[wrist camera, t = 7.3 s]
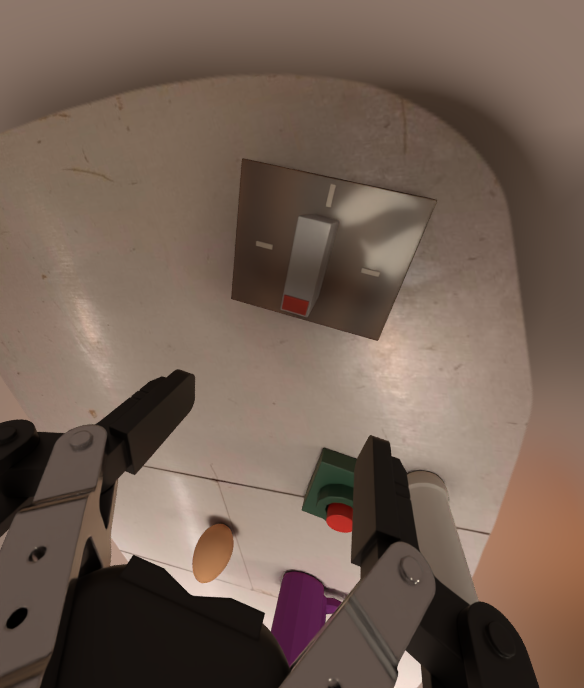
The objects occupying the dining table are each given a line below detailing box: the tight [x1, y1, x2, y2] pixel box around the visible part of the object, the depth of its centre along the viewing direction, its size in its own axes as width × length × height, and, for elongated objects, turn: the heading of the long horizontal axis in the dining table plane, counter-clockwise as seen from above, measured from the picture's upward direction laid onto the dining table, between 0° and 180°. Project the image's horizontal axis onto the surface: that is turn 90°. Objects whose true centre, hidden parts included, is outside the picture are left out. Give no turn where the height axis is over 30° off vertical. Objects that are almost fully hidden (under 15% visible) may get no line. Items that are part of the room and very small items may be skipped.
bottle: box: [407, 471, 479, 605], centre depth 22 cm, size 5×5×25 cm
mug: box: [271, 571, 342, 667], centre depth 46 cm, size 9×16×15 cm, turn 91°
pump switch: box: [302, 448, 357, 521], centre depth 35 cm, size 12×9×4 cm
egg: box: [193, 524, 234, 583], centre depth 47 cm, size 7×7×9 cm
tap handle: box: [281, 215, 339, 317], centre depth 18 cm, size 6×2×5 cm, turn 168°
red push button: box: [326, 503, 353, 533], centre depth 33 cm, size 4×4×2 cm
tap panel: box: [231, 159, 437, 341], centre depth 22 cm, size 14×11×3 cm
